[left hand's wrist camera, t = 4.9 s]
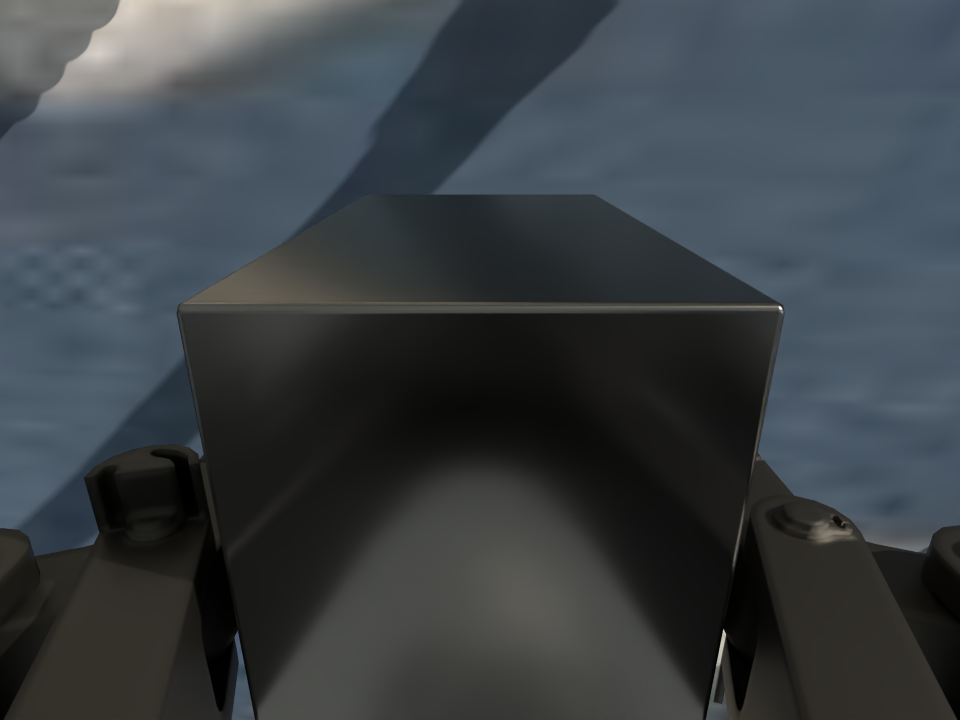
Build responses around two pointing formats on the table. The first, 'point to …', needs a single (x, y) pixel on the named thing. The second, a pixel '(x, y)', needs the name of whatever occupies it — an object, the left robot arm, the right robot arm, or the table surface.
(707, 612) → the bar
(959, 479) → the table surface
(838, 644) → the left robot arm
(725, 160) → the table surface
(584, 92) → the table surface
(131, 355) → the table surface
